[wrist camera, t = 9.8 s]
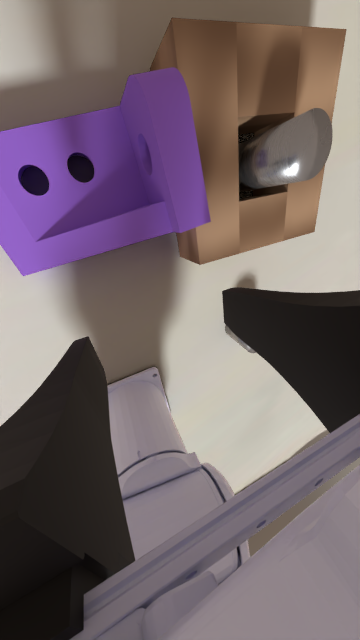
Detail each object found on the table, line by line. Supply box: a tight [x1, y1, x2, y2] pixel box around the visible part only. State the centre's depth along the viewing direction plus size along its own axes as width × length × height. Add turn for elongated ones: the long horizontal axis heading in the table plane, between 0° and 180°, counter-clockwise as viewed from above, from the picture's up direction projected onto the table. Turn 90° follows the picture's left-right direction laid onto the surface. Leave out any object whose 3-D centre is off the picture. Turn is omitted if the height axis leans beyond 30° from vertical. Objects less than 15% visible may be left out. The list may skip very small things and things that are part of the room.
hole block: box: [150, 18, 346, 265], centre depth 16 cm, size 12×12×4 cm
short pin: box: [225, 325, 256, 353], centre depth 24 cm, size 3×3×4 cm
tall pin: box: [238, 108, 332, 192], centre depth 15 cm, size 3×3×8 cm
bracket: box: [0, 67, 211, 276], centre depth 12 cm, size 12×7×7 cm, turn 104°
